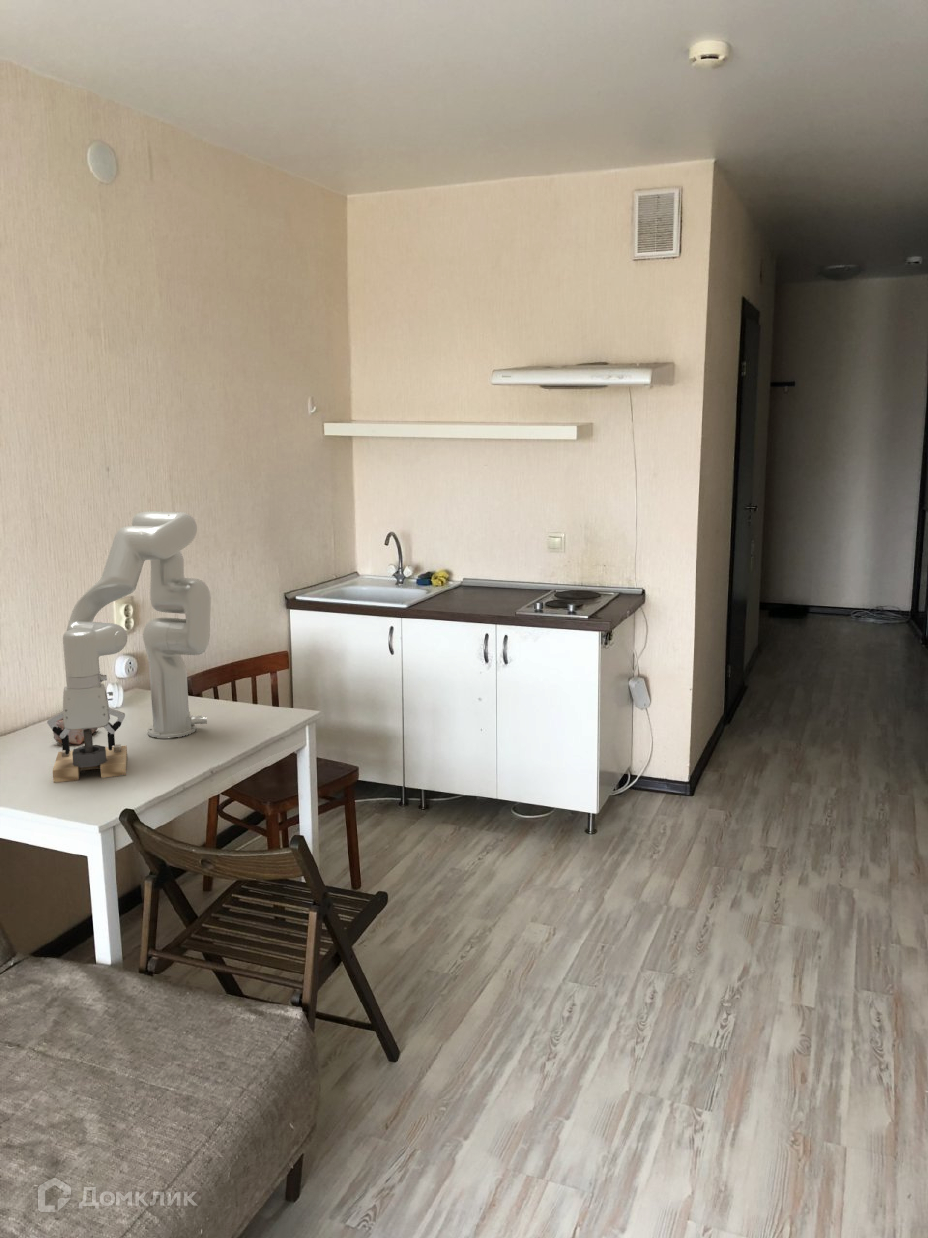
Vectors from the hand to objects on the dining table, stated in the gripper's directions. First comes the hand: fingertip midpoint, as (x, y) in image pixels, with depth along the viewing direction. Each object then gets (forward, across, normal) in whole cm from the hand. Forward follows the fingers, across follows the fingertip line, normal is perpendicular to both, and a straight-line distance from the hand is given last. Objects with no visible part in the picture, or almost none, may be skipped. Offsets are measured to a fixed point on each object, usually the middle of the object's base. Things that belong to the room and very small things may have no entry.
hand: (89, 750), depth 236 cm
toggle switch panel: (+6, 0, -3) cm, 7 cm away
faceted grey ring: (+3, 0, 0) cm, 3 cm away
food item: (+6, +5, -30) cm, 32 cm away
